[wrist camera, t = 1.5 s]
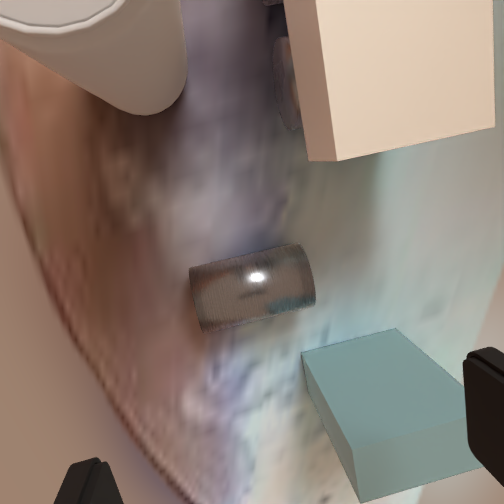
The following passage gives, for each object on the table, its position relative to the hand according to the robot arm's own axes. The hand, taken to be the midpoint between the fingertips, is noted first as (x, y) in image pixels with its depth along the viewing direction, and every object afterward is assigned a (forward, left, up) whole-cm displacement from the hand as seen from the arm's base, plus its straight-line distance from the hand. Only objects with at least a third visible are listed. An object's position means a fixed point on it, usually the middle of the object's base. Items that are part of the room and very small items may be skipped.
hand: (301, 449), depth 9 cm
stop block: (-6, +7, -13) cm, 16 cm away
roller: (0, 0, -13) cm, 13 cm away
